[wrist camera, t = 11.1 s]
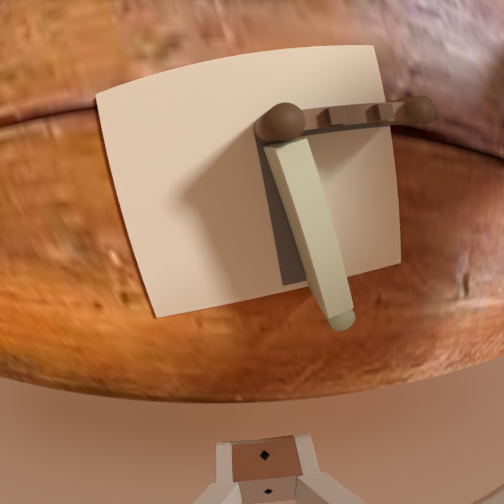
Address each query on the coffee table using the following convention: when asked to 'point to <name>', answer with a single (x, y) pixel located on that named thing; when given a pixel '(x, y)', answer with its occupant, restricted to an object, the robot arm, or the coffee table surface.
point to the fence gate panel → (312, 228)
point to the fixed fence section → (340, 117)
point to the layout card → (245, 173)
